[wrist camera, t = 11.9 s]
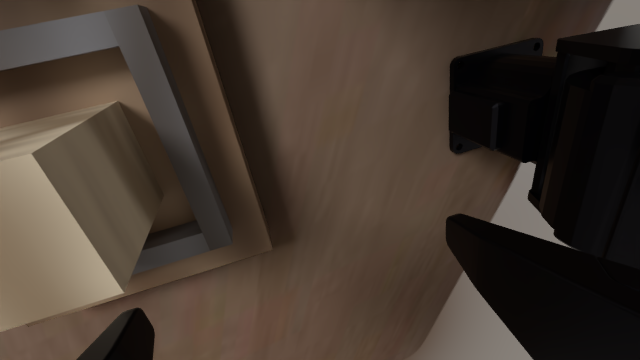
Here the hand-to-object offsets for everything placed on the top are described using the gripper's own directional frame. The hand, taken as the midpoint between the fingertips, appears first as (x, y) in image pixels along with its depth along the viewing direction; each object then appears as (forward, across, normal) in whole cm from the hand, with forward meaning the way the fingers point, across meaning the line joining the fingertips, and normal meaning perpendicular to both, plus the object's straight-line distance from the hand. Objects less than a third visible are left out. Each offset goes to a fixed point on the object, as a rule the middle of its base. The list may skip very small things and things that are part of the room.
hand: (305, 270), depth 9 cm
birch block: (+9, +9, -2) cm, 12 cm away
